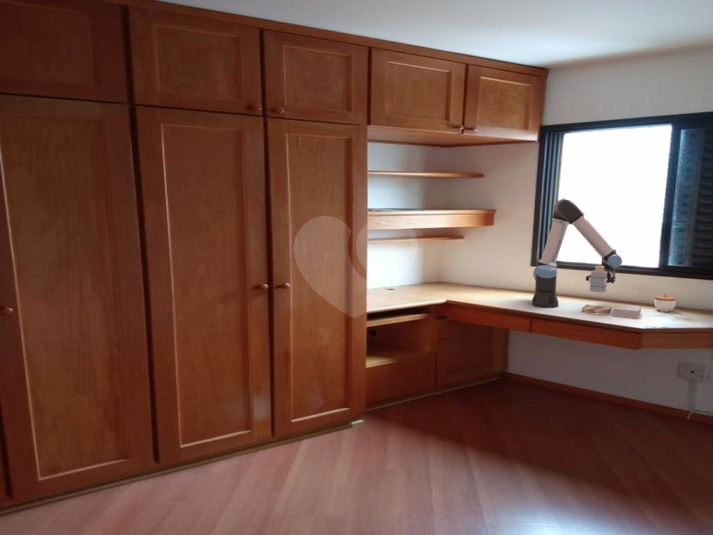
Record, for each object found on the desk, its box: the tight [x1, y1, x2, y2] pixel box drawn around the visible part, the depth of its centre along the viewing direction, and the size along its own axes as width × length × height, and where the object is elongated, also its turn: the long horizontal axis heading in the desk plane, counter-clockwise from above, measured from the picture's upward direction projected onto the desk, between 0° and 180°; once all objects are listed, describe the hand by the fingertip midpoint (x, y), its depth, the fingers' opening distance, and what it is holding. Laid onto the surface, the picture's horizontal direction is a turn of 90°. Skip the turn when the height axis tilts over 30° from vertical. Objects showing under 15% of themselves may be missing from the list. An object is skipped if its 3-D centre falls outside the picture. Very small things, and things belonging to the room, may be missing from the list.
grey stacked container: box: [589, 269, 608, 293], centre depth 284 cm, size 7×7×11 cm
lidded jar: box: [653, 293, 677, 312], centre depth 289 cm, size 11×11×9 cm
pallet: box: [581, 304, 612, 316], centre depth 286 cm, size 13×13×2 cm
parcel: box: [594, 265, 604, 272], centre depth 283 cm, size 4×4×3 cm
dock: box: [611, 303, 642, 319], centre depth 279 cm, size 12×14×4 cm
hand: (597, 281), depth 280 cm, fingers closed on grey stacked container, 7 cm apart
